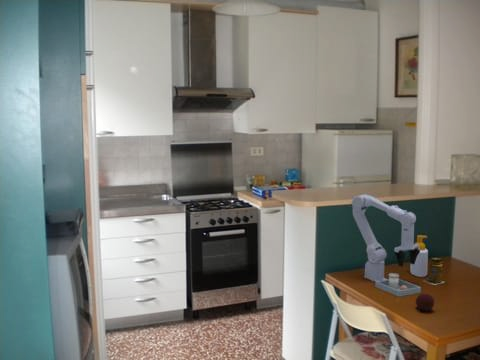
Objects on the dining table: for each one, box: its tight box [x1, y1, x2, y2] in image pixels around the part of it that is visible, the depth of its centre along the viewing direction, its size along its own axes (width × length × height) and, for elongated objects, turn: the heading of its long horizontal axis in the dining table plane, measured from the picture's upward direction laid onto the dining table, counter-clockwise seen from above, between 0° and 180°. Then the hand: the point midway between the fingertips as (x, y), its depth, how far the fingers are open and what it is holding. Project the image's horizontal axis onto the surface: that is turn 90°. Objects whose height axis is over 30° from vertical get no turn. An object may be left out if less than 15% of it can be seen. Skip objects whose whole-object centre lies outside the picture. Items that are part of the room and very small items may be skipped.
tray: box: [374, 278, 422, 298], centre depth 235 cm, size 16×14×3 cm
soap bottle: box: [409, 234, 429, 278], centre depth 261 cm, size 13×8×20 cm, turn 171°
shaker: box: [388, 272, 400, 289], centre depth 237 cm, size 5×5×6 cm
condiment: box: [423, 257, 446, 286], centre depth 248 cm, size 7×8×12 cm
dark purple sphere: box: [415, 293, 435, 312], centre depth 210 cm, size 7×8×7 cm
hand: (406, 264), depth 241 cm, fingers open, 7 cm apart
